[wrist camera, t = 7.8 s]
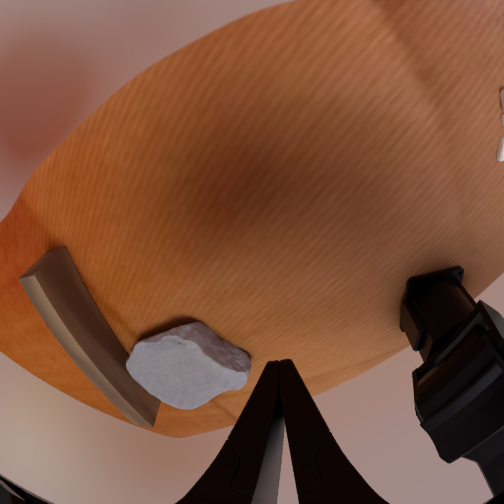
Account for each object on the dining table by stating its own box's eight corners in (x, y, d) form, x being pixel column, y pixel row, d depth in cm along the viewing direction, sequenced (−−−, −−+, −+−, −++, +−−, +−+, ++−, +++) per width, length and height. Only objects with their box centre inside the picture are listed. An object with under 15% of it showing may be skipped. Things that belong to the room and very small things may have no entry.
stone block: (132, 341, 30) (191, 393, 31) (112, 365, 25) (178, 420, 27) (191, 290, 26) (260, 357, 27) (171, 316, 21) (253, 390, 23)
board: (65, 245, 21) (34, 275, 17) (161, 397, 33) (153, 427, 28) (47, 251, 22) (18, 279, 17) (144, 396, 33) (134, 424, 29)
